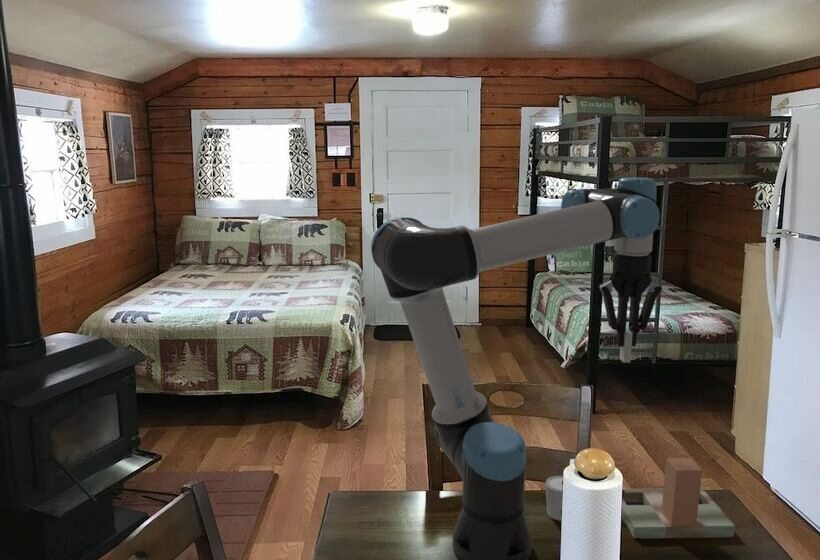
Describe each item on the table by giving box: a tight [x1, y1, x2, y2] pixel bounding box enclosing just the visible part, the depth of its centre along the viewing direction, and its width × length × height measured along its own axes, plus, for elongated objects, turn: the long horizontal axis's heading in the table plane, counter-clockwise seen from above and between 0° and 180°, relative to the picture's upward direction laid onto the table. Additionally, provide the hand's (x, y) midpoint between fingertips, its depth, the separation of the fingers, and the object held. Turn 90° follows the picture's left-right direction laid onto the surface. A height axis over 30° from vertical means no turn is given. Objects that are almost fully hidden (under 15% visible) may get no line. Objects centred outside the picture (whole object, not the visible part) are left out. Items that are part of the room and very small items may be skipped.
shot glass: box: [545, 475, 563, 522], centre depth 142 cm, size 7×7×7 cm
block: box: [662, 457, 703, 526], centre depth 135 cm, size 5×5×12 cm
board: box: [621, 487, 736, 539], centre depth 141 cm, size 14×20×2 cm
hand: (624, 360), depth 146 cm, fingers closed
